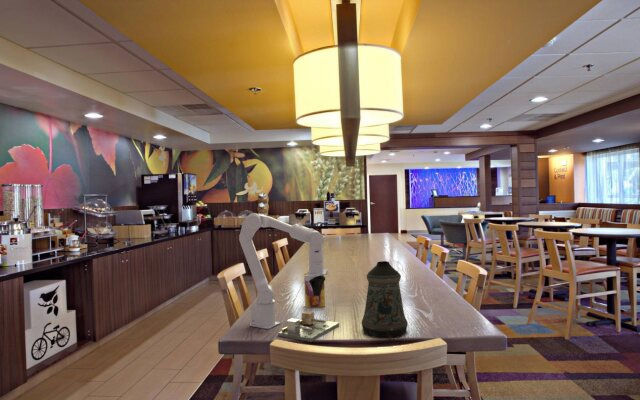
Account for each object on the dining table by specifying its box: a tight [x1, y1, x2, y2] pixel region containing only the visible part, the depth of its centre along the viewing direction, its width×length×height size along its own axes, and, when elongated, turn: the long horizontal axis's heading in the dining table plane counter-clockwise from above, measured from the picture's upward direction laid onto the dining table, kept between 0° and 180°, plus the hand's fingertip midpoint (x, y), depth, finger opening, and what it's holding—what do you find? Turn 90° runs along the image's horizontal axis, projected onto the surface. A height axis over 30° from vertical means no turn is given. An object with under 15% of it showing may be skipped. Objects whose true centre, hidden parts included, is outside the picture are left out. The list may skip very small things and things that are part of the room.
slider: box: [301, 310, 327, 325], centre depth 161 cm, size 10×3×4 cm, turn 58°
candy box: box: [303, 271, 326, 309], centre depth 192 cm, size 9×4×15 cm, turn 96°
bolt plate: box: [277, 318, 340, 343], centre depth 158 cm, size 14×20×2 cm
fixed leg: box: [286, 317, 312, 333], centre depth 153 cm, size 10×3×4 cm, turn 58°
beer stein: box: [361, 260, 409, 340], centre depth 156 cm, size 16×19×25 cm
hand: (317, 295), depth 169 cm, fingers closed
